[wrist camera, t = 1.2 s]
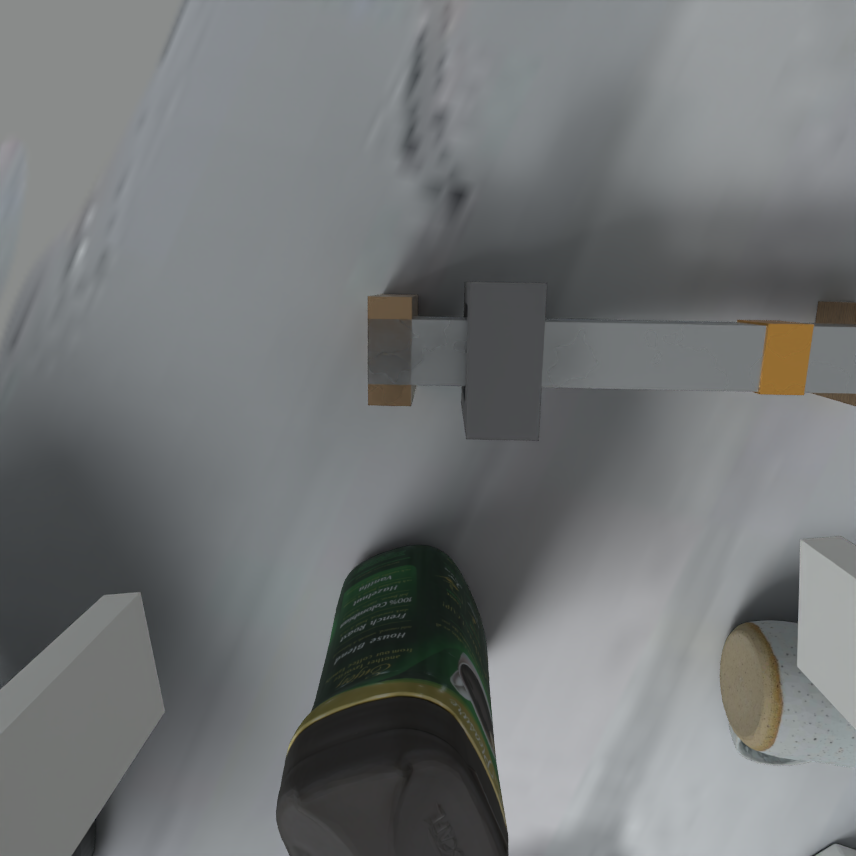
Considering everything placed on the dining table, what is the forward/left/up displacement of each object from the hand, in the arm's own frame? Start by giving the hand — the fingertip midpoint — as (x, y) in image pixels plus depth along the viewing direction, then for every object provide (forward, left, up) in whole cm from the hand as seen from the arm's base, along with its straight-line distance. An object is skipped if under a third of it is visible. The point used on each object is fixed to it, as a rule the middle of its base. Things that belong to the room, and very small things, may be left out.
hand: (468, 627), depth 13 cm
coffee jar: (-2, -13, -25) cm, 29 cm away
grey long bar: (+9, +4, -25) cm, 27 cm away
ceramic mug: (+21, -17, -25) cm, 37 cm away
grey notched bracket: (+2, +4, -23) cm, 23 cm away
